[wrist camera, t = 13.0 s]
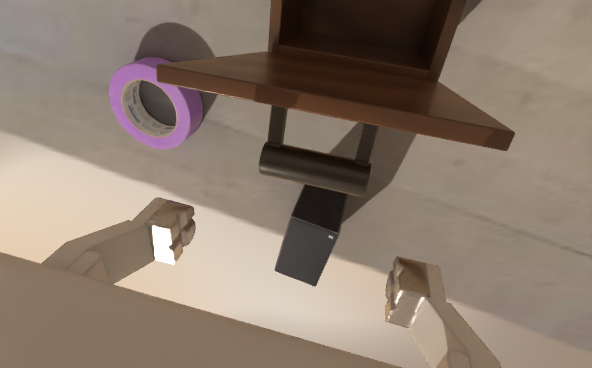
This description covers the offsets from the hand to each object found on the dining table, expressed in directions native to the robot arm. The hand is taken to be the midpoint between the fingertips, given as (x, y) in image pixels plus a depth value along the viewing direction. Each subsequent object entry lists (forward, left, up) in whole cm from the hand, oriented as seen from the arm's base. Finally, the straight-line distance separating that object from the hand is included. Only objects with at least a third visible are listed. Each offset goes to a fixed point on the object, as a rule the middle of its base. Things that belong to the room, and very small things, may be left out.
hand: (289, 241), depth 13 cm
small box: (+21, -1, -31) cm, 38 cm away
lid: (-3, 0, -12) cm, 13 cm away
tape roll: (+9, -25, -31) cm, 41 cm away
